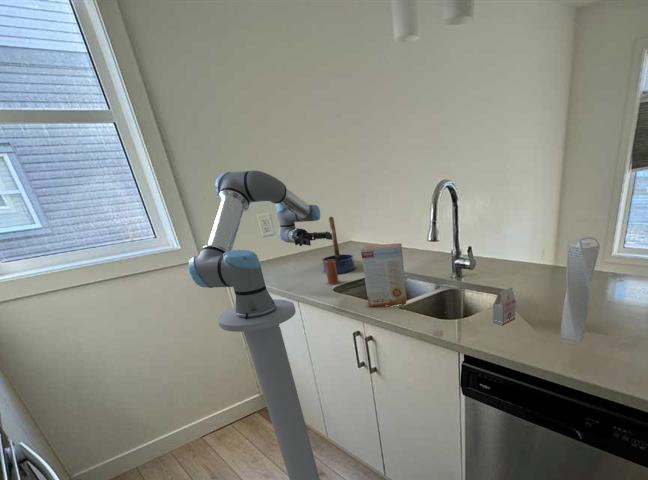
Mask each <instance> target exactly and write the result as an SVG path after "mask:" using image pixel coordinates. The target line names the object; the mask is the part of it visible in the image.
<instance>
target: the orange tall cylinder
mask: <svg viewBox="0 0 648 480" xmlns="http://www.w3.org/2000/svg"><path fill="white" fill-rule="evenodd" d="M324 262H325V268H326V272H325V274H326V279H327V282H328V285H337V284H339V283H340V281H339V274H337V269H336V263H335V259H328V260H325V261H324Z"/></svg>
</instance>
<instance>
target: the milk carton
mask: <svg viewBox="0 0 648 480" xmlns="http://www.w3.org/2000/svg"><path fill="white" fill-rule="evenodd" d="M516 308H517V300H516V297H515V293H514V290H513V287H508V288H506V289H504V290H502V291H499V292H498V293H497V296H496V298H495V299H494V302H493V304H492V324H494V325H497V326H502V327H503V326H505V325H507V324H509V323H510V322H513V321H514V320H516V310H517V309H516ZM514 316H515V317H514ZM512 317H513V318H512ZM510 318H511V319H510ZM508 319H509V320H508ZM494 320H497V321H494ZM506 320H507V321H506ZM498 321H501V322H503V323H501V322H498ZM504 321H505V322H504Z"/></svg>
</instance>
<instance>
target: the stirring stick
mask: <svg viewBox="0 0 648 480" xmlns="http://www.w3.org/2000/svg"><path fill="white" fill-rule="evenodd" d="M334 218H335V217H333V216H329V217H328V221H329V228H330V234H332V240H331V241H332V244H333V250H334V251H333V252H334V255H335V257H336V261H341V260H340V255H341V253H340V249H339V242H338V237H337V236H338V235H337V231H336V223H335V219H334Z"/></svg>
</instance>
